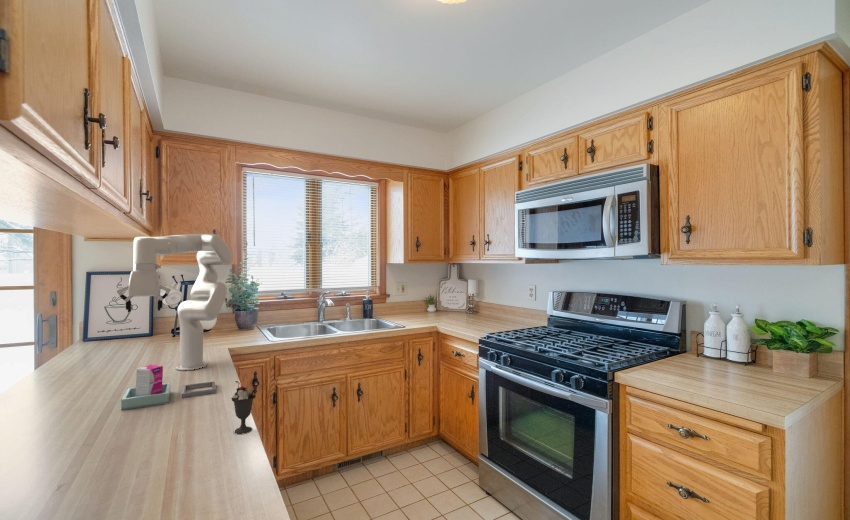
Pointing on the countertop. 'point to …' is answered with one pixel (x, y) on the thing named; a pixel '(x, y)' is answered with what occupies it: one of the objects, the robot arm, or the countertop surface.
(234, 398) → the sundae
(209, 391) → the collar
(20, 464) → the countertop surface
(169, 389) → the bin
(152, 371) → the supplement box
